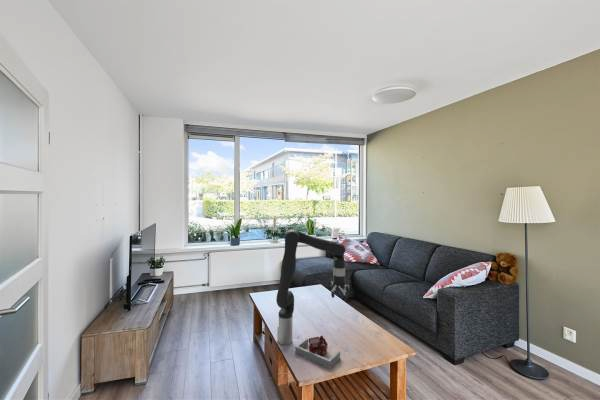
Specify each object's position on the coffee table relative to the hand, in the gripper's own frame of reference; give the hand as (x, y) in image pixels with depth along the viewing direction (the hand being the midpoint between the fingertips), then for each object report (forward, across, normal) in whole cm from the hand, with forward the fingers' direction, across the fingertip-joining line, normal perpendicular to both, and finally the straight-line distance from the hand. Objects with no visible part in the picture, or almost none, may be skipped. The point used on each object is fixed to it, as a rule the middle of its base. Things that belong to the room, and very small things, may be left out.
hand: (338, 298), depth 179 cm
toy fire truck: (+30, -5, -16) cm, 35 cm away
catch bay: (+30, -4, -18) cm, 35 cm away
